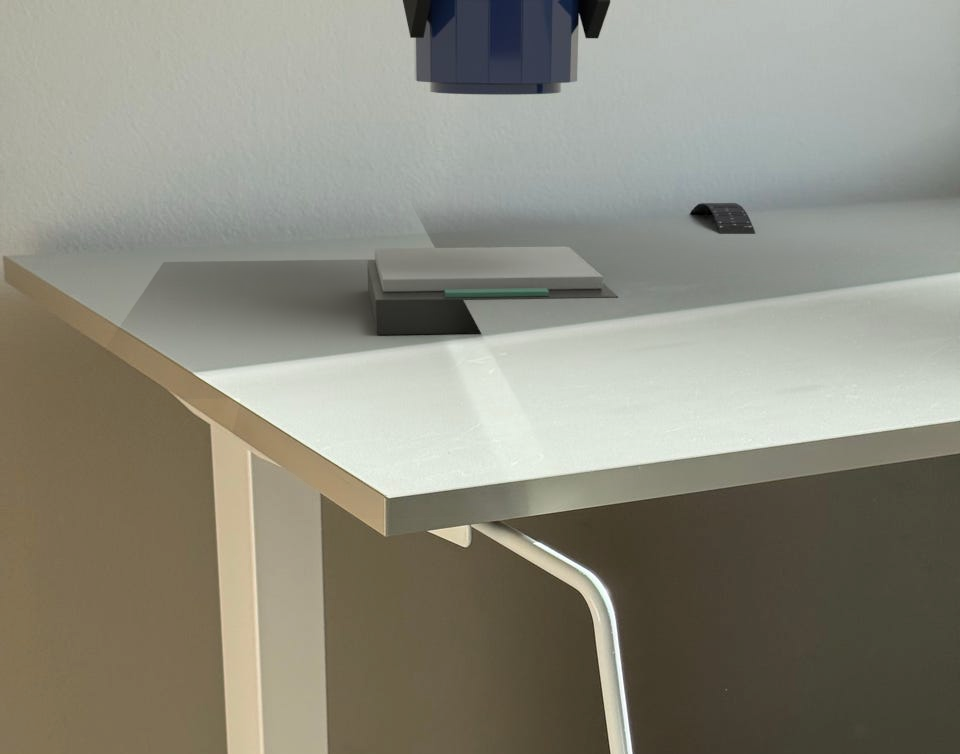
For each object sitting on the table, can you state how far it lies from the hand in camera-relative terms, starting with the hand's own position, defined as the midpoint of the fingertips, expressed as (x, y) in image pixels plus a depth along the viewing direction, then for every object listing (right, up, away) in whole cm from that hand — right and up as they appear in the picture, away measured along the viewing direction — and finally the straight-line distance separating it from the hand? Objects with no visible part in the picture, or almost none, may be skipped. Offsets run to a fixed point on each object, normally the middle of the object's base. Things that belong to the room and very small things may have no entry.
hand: (510, 19), depth 82 cm
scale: (-1, -14, +10) cm, 17 cm away
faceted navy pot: (-1, -2, +4) cm, 5 cm away
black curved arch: (+18, -3, +37) cm, 41 cm away
